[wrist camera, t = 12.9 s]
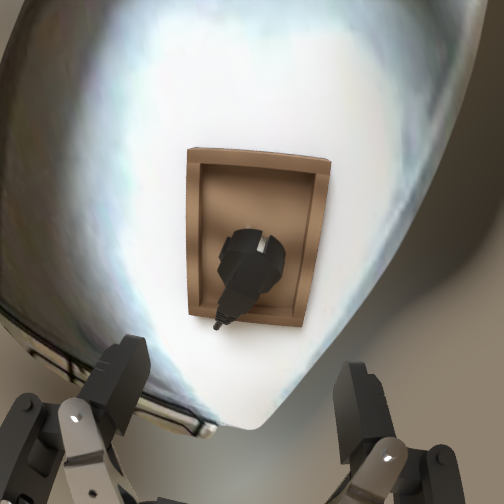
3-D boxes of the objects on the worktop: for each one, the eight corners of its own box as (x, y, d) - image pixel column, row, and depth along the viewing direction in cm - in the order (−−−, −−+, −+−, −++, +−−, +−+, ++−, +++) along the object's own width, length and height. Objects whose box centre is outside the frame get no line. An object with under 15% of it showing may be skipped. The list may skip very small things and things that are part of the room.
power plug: (189, 323, 29) (216, 262, 20) (211, 270, 34) (244, 199, 25) (238, 343, 30) (287, 293, 21) (254, 288, 35) (300, 225, 26)
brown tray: (194, 147, 26) (187, 149, 23) (326, 158, 25) (331, 161, 23) (194, 302, 33) (188, 314, 31) (300, 313, 33) (301, 327, 30)
